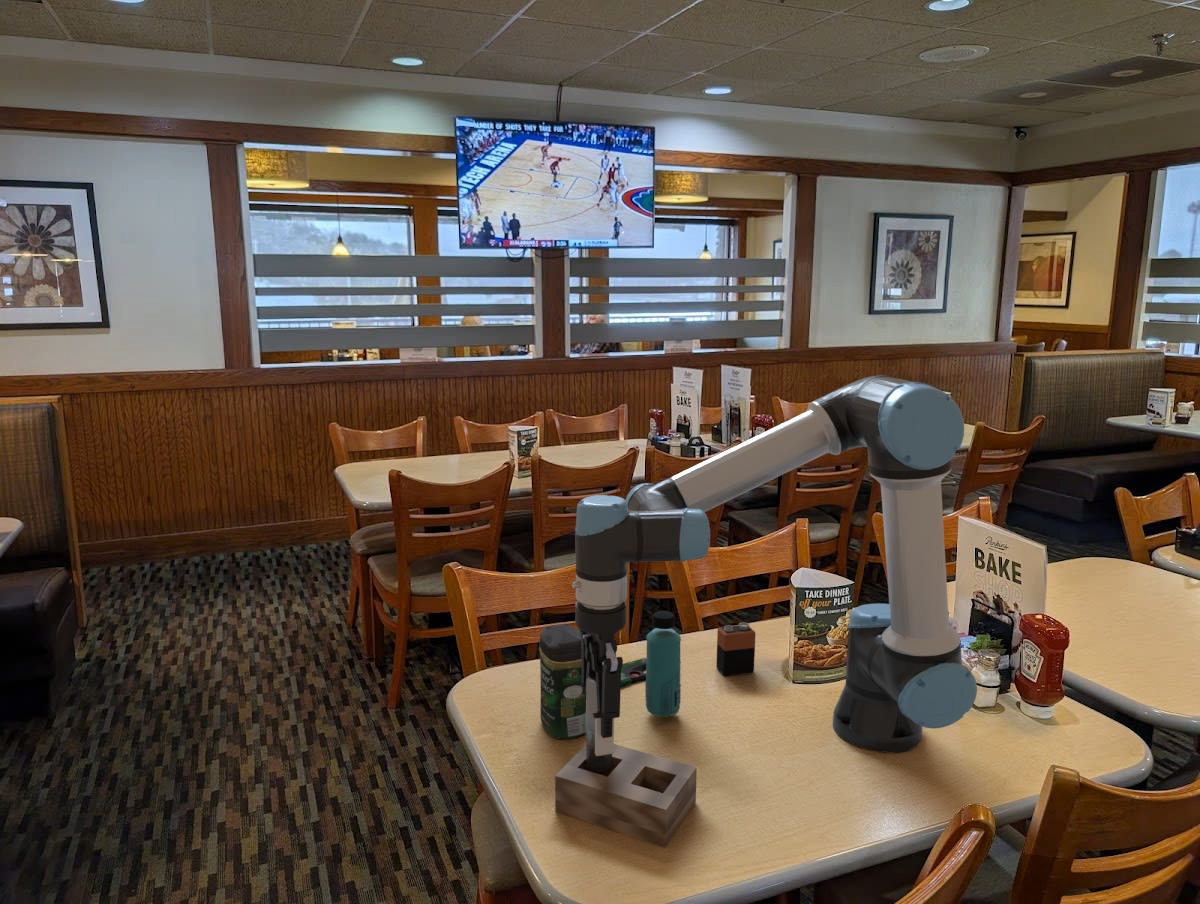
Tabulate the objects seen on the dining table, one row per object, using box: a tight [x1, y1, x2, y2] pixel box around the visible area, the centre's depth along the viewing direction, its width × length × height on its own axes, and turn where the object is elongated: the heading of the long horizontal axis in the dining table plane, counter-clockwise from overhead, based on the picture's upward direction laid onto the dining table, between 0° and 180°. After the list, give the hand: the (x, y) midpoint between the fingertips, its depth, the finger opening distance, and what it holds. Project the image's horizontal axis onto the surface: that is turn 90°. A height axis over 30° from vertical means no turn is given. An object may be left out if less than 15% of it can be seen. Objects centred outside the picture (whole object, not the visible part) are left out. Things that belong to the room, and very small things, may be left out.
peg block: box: [554, 743, 698, 849], centre depth 128 cm, size 18×12×6 cm, turn 63°
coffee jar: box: [539, 623, 586, 740], centre depth 150 cm, size 10×8×19 cm
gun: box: [621, 657, 647, 689], centre depth 171 cm, size 16×1×10 cm
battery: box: [716, 622, 756, 677], centre depth 173 cm, size 4×7×10 cm, turn 105°
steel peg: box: [585, 675, 612, 772], centre depth 128 cm, size 4×4×14 cm
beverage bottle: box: [644, 610, 682, 718], centre depth 154 cm, size 6×7×20 cm
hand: (599, 745), depth 129 cm, fingers closed on steel peg, 4 cm apart
